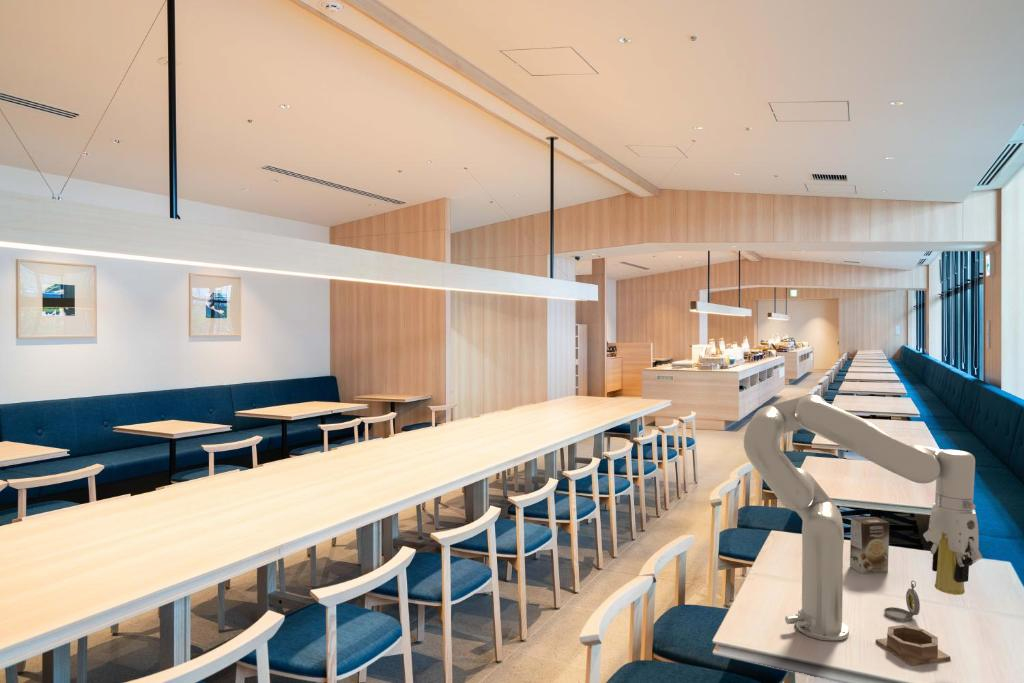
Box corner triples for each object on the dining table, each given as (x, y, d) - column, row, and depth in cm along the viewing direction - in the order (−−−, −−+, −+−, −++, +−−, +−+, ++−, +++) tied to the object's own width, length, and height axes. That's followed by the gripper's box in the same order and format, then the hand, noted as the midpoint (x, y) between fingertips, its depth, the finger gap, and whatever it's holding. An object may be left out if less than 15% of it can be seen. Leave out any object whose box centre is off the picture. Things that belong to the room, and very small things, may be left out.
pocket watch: (878, 613, 180) (879, 577, 179) (899, 607, 183) (900, 572, 183) (906, 626, 172) (907, 589, 172) (928, 620, 176) (929, 583, 175)
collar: (911, 665, 154) (911, 649, 153) (875, 642, 164) (875, 627, 164) (950, 659, 156) (950, 644, 156) (912, 637, 167) (913, 622, 166)
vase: (966, 589, 159) (969, 531, 158) (962, 597, 155) (965, 538, 154) (937, 582, 163) (940, 525, 162) (932, 589, 159) (935, 531, 158)
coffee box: (862, 574, 206) (863, 523, 206) (849, 566, 213) (849, 517, 212) (889, 572, 208) (889, 522, 207) (875, 564, 214) (876, 515, 213)
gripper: (1000, 512, 150) (995, 590, 151) (936, 491, 167) (932, 561, 168) (973, 514, 148) (969, 592, 149) (911, 492, 165) (907, 563, 166)
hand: (949, 575), depth 159 cm, fingers closed on vase, 5 cm apart
